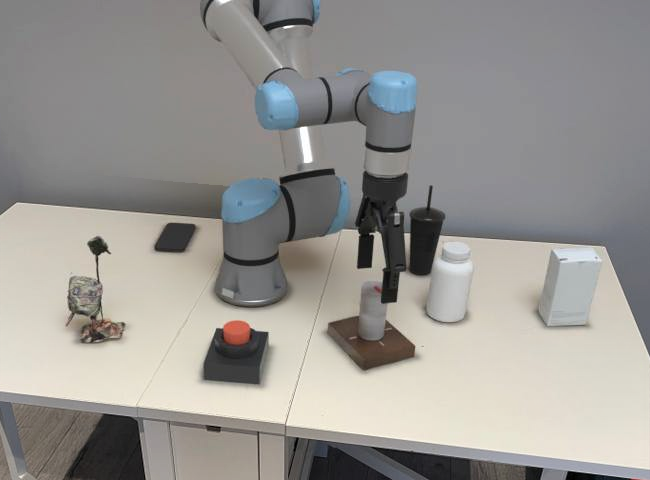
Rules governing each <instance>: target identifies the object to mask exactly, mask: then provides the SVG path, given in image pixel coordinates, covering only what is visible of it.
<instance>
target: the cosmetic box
mask: <svg viewBox="0 0 650 480" xmlns="http://www.w3.org/2000/svg"><path fill="white" fill-rule="evenodd" d="M602 264H603V260H602V258H601V257H600V256H599V254H597V252H596V251H595V250H594V248H593V247H592V246H589V247H567V248H566V247H565V248H551V250H550V255H549V259H548V264H547V268H546V274H545V279H544V283H543V287H542V293H541V296H540V297H541V298H540V301H539V302H540V303H539V306H538V314H539V315H540V317H541V318H542V320H543V322H544V324H545V325H546V326H547V327H560V326H562V327H563V326H585V325H587V322H588V318H589V314H590V312H591V311H590V310H591V307H592V303H593V299H594V295H595V291H596V287H597V284H598V279H599V276H600V272H601V269H602Z"/></svg>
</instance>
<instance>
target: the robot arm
mask: <svg viewBox="0 0 650 480" xmlns="http://www.w3.org/2000/svg"><path fill="white" fill-rule="evenodd" d="M320 6H321V0H200V2H199V14H200V18H201V21H202V23H203V26H204V27H205V30H206V31H207V32H208V34H209V35H210V37H211V38H213V39H214V40H215V41H217V42H219V43H222V45H223V46H224V47H225V49H226V50H227V52H228V53H229V54H230V56H231V57H232V59H233V61H234V62H235V63H236V64H237V66H238V68H239V69H240V70H241V72H242V73H243V74H244V76H245V77H246V79H247V80H248V82H249V83H250V85H251V86H252V88H253V89H254V90H255V94H254V110H255V114H256V116H257V122H258V123H259V124H260V126H261V127H262V128H263V129H264V130H266V131H278V134H279V139H280V140H279V141H280V146H281V147H280V148H281V152H282V157H283V165H284V168H283V170H282V171H281V174H280V175H279V177H278V179H279V183H278V182H277V181H276V180H274V179H272V178H267V177H262V178H259V177H251V178H246V179H243V180H240V181H236V182H235V183H233V184H231V185H230V186H228V187H227V189H226V190H225V191H224V192H223V194H222V197H221V210H220V217H221V221H222V222H221V225H222V226H221V227H222V228H221V229H222V257H223V258H222V261H221V264H220V267H219V270H218V273H217V276H216V279H215V292H216V295H217V297H218V298H219V299H220V300H222V301H223V302H226V303H227V304H230V305H233V306H238V307H244V308H258V307H259V308H261V307H265V306H269V305H273V304H275V303H277V302H279V301H281V300H282V299H283V298H284V297H285V296H286V294H287V293H288V292H287V291H288V281H287V276H286V274H285V271H284V268H283V265H282V263H281V260H280V244H284V243H290V242H297V241H303V240H308V239H313V238H323V237H326V236H330V235H334V234H337V233H339V232H340V231H342V230H343V228H344V227H345V225H346V224H347V221H348V219H349V216H350V210H351V194H350V189H349V186H348V185H347V182H346V180H345V179H344V178H343V177H341V176H339V175H336V170H335V166H333V165H332V164H331V163H329V162H328V161H327V160H326V154H325V148H324V140H323V133H322V127H321V126H323V125H331V124H341V123H349V122H358V123H359V124H361V125H362V126H364V127H365V141H364V148H363V149H364V150H363V163H362V167H363V169H364V171H363V172H362V183H361V192H362V198H361V202H360V205H359V208H358V211H357V214H356V219H355V223H354V224H355V228H357V233H358V245H357V258H356V259H357V260H356V268H357V270H364V269H372V268H373V258H374V257H373V256H374V245H375V244H374V243H375V235H374V234H376V233H377V232H378V233H379V234H380V237H381V242H382V249H383V256H384V262H385V267H384V268H382V272H383V273H382V281H381V282H382V293H381V303H382V304H385V303H387V304H393V303H398V293H399V285H400V275H401V273H407V270H408V267H407V254H406V252H407V251H406V240H405V239H406V238H405V212H404V211H398V206H397V202H398V201H399V200H400V199H402V198H404V197H405V196H406V194H407V191H408V181H409V174H408V171H409V169H410V159H411V156H412V155H413V153H414V151H413V150H412V149H411V148H412V142H413V134H414V127H415V117H416V109H417V105H418V99H417V94H418V93H417V92H418V91H417V90H418V81H417V78H416V77H415V76H414V75H413V74H411V73H409V72H403V71H400V70H381V71H377V72H375V73H373V74H371V73H369V72H368V71H365V70H363V69H357V68H353V67H350V68H344V69H342V70H341V71H339V72H338V73H336V74H335V75H330V76H318V77H314V75H313V68H312V63H311V62H312V61H311V58H310V57H311V55H310V49H309V42H308V41H309V38H310V37H311V35H312V34H313V32H314V25H315V24H316V23H317V22H318V21H319V17H320V13H321V8H320ZM376 229H377V232H376Z"/></svg>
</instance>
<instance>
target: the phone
mask: <svg viewBox="0 0 650 480" xmlns="http://www.w3.org/2000/svg"><path fill="white" fill-rule="evenodd" d="M196 227H197V226H196V224H195V223H187V222H167V223H166V225H165V226H164V228H163V229H162V231H161V233H160V235H159V237H158V239H157V240H156V242H155V243H154V246H153V248H154V250H155V251H160V252H161V251H162V252H176V253H177V252H178V253H179V252H181V253H182V252H185V250H186V248H187V247H188V244H189V243H190V241H191V238H192V237H193V234H194V233H195V230H196Z"/></svg>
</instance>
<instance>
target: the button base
mask: <svg viewBox="0 0 650 480" xmlns="http://www.w3.org/2000/svg"><path fill="white" fill-rule="evenodd" d="M269 333H270V332H269V331H262V330H261V331H260V330H256V329H254V328H252V327H250V340H249V341H248V342H247V343H244V344H239V345H235V344H229V343H227V342H225V341H224V336H223V327H216V328H215V331H214V333H213V337H212V338H211V342H210V344H209V347H208V349H207V352H206V355H205V358H204V361H203V379H204V381H209V382H210V381H211V382H222V383H234V384H235V383H236V384H246V385H249V384H250V385H260V383H261V381H262V378H263V377H262V376H263V372H264V369H265V364H266V360H267V356H268V353H269V349H270V347H269V345H270V343H269V342H270V339H269V338H270V337H269Z"/></svg>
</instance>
